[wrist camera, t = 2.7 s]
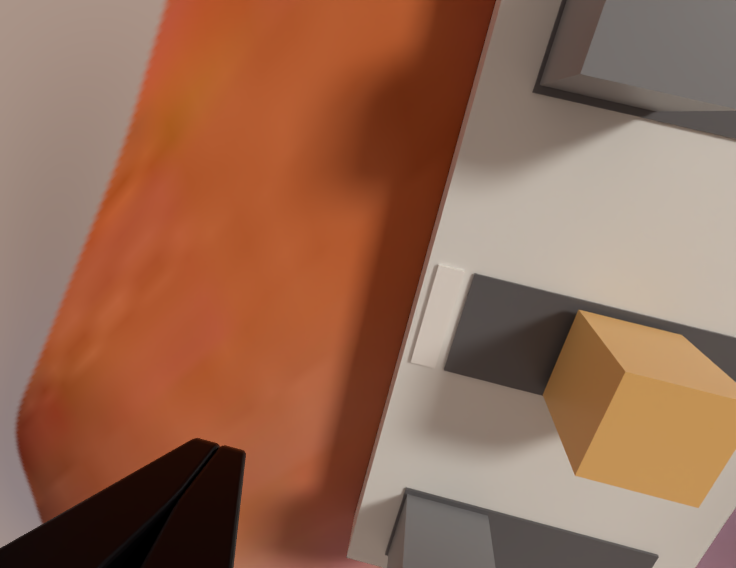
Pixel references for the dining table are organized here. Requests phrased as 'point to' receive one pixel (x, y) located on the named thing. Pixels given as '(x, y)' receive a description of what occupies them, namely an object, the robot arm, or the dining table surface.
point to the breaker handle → (641, 409)
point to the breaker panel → (560, 286)
